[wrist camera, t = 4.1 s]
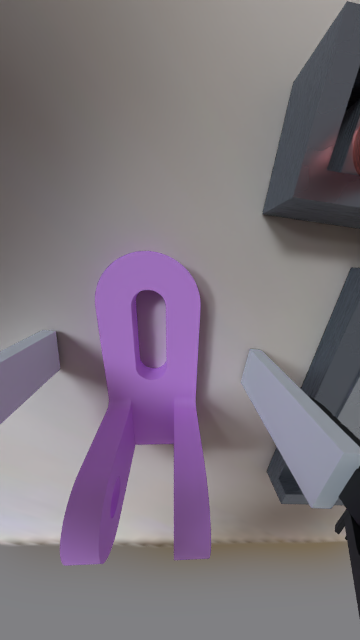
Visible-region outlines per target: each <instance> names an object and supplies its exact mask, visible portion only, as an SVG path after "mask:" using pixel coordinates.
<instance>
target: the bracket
mask: <svg viewBox="0 0 360 640" xmlns="http://www.w3.org/2000/svg"><path fill="white" fill-rule="evenodd" d="M143 290H153V291H155V292H157V293H159V294H160V295H161V296H162V297H163V299H164V301H165V303H166V349H167V361H166V363H165V364H164V365H163V366H161V367H159V368H149V367H147V366H145V365H144V364H143V363H142V362H141V360H140V353H139V338H138V324H137V309H136V297H137V295H138V293H139V292H140V291H143ZM95 307H96V314H97V320H98V327H99V334H100V341H101V348H102V355H103V361H104V368H105V375H106V382H107V389H108V395H109V405H108V409H107V412H106V414H105V416H104V418H103V420H102V422H101V425H100V427H99V429H98V431H97V433H96V436H95V438H94V440H93V442H92V444H91V447H90V449H89V451H88V453H87V455H86V458H85V460H84V462H83V464H82V466H81V469H80V471H79V473H78V475H77V478H76V480H75V483H74V486H73V488H72V491H71V494H70V498H69V501H68V504H67V508H66V512H65V516H64V521H63V526H62V532H61V540H60V558H61V561H62V563H63V565H86V564H103V563H104V562H105V561H106V560H107V558H108V556H109V553H110V551H111V548H112V545H113V542H114V539H115V535H116V532H117V528H118V523H119V519H120V514H121V510H122V505H123V500H124V495H125V491H126V486H127V481H128V477H129V472H130V467H131V463H132V458H133V453H134V449H135V445H141V444H174V560H187V559H188V560H189V559H209V558H210V553H211V524H210V508H209V497H208V487H207V478H206V471H205V464H204V457H203V451H202V444H201V438H200V431H199V425H198V418H197V411H196V380H197V362H198V344H199V326H200V308H201V302H200V295H199V291H198V288H197V285H196V283H195V281H194V279H193V277H192V276H191V274H190V273H189V272H188V271H187V269H186V268H185V267H184V266H183V265H181V264H180V263H179V262H178V261H176V260H174V259H173V258H171V257H169V256H167V255H164V254H161V253H157V252H152V251H138V252H133V253H129V254H126V255H124V256H122V257H120V258H118V259H117V260H115V261H114V262H113V263H111V264H110V265H109V266H108V267H107V268H106V270H105V271H104V272H103V274H102V275H101V277H100V279H99V282H98V284H97V288H96V293H95Z"/></svg>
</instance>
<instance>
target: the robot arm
mask: <svg viewBox="0 0 360 640" xmlns="http://www.w3.org/2000/svg"><path fill="white" fill-rule="evenodd" d="M59 370H60V361H59V353H58V345H57V336H56V331H50V330H42V331H40V332H38V333H36V334H34V335H32V336H30V337H28V338H26V339H24V340H22V341H20V342H18V343H16V344H14V345H12V346H10V347H8V348H6V349H4V350H2V351H0V424H1V423H2V422H3V421H4V420H6V419H7V418H8V417H9V416H10V415H11V414H12V413H13V412H14V411H15V410H16V409H17V408H18V407H20V406H21V405H22V404H23V403H24V402H25V401H26V400H27V399H28V398H29V397H30V396H31V395H33V394H34V393H35V392H36V391H37V390H38V389H39V388H40V387H41V386H42V385H43V384H44V383H46V382H47V381H48V380H49V379H50V378H51V377H52V376H53V375H54V374H55V373H56V372H57V371H59ZM241 384H242V386H243V387H244V389H245V391H246V393H247V395H248V396H249V398H250V400H251V402H252V403H253V405H254V407H255V409H256V411H257V412H258V414H259V416H260V418H261V419H262V421H263V423H264V425H265V427H266V428H267V430H268V432H269V434H270V435H271V437H272V439H273V441H274V443H275V444H276V446H277V448H278V450H279V451H280V453H281V455H282V457H283V459H284V460H285V462H286V464H287V466H288V468H289V469H290V471H291V473H292V475H293V476H294V478H295V480H296V482H297V484H298V485H299V487H300V489H301V491H302V492H303V494H304V496H305V498H306V500H307V501H308V503H309V505H310V507H311V508H327V509H332V507H333V506H334V504H335V503H336V501H337V500H338V498H340V500H341V501H342V503H343V504H344V506H345V507H346V508H347V509H346V510H345V512H344V513H343V515H342V516H341V518H340V519H339V520H338V522H337V523H336V525H335V532H336V533H338V534H339V533H340V532H341V531H342V529H343V528H344V527H345V529H346V537H345V539H346V540H347V542H348V548H349V554H350V560H351V567H352V573H353V579H354V585H355V592H356V598H357V603H358V611H359V617H360V440H359V439H358V438H357V437H356V436H355V435H354V434H353V433H352V432H351V431H350V430H349V429H348V428H347V427H346V426H345V425H342V424H341V422H340V421H339V420H338V419H337V418H336V417H335V416H333V415H332V413H331V412H330V411H329V410H328V409H327V408H326V407H325V406H323V405H322V404H321V403H320V402H318V401H317V400H315V399H314V398H312V397H311V396H307V395H306V394H305V393H304V392H303V391H302V390H301V389H300V388H299V387H298V386H297V385H296V384H295V383H294V382H293V381H292V380H291V379H290V378H289V377H288V376H287V375H286V374H285V373H284V372H283V371H282V370H281V369H280V368H279V367H278V366H277V365H276V364H275V363H274V362H273V361H272V360H271V359H270V358H269V357H268V356H267V355H266V354H265V353H264V352H263V351H262V350H259V349H250V351H249V354H248V358H247V362H246V365H245V369H244V373H243V376H242V380H241Z"/></svg>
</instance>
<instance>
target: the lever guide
mask: <svg viewBox="0 0 360 640" xmlns="http://www.w3.org/2000/svg"><path fill="white" fill-rule="evenodd" d="M359 99H360V4H356V3H352V2H348V1H347V2H346V4H345V5H344V7H343V8H342V10H341V11H340V13H339V14H338V16H337V17H336V19H335V20H334V22H333V23H332V25H331V26H330V28H329V29H328V31H327V32H326V34H325V35H324V37H323V39H322V40H321V42H320V43H319V45H318V46H317V48H316V49H315V51H314V52H313V54H312V55H311V57H310V58H309V60H308V61H307V63H306V64H305V66H304V67H303V69H302V70H301V72H300V73H299V75H298V76H297V78H296V79H295V81H294V82H293V86H292V90H291V95H290V99H289V103H288V107H287V112H286V116H285V120H284V124H283V129H282V133H281V137H280V141H279V146H278V150H277V154H276V158H275V163H274V167H273V171H272V175H271V180H270V184H269V188H268V192H267V197H266V201H265V205H264V209H263V214H265V215H271V216H278V217H285V218H292V219H298V220H305V221H312V222H318V223H325V224H332V225H339V226H345V227H352V228H359V229H360V176H358V175H353V174H347V173H341V172H335V171H329V170H327V167H328V164H329V161H330V158H331V155H332V152H333V148H334V145H335V142H336V139H337V136H338V133H339V129H340V126H341V123H342V120H343V117H344V114H345V112H346V111H347V110H348V109H349V108H350V107H351V106H352V105H353V104H355V103H356V102H357V101H358V100H359Z"/></svg>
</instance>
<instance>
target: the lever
mask: <svg viewBox="0 0 360 640" xmlns="http://www.w3.org/2000/svg"><path fill="white" fill-rule="evenodd" d="M327 170H329V171H335V172H341V173H347V174H353V175H358V176H360V99H359V100H358V101H357V102H356V103H355V104H353V105H352V106H351V107H350V108H349V109H348V110H347V111H346V112H345V114H344V117H343V120H342V123H341V126H340V129H339V133H338V136H337V139H336V142H335V145H334V148H333V152H332V155H331V158H330V161H329V164H328V167H327Z"/></svg>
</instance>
